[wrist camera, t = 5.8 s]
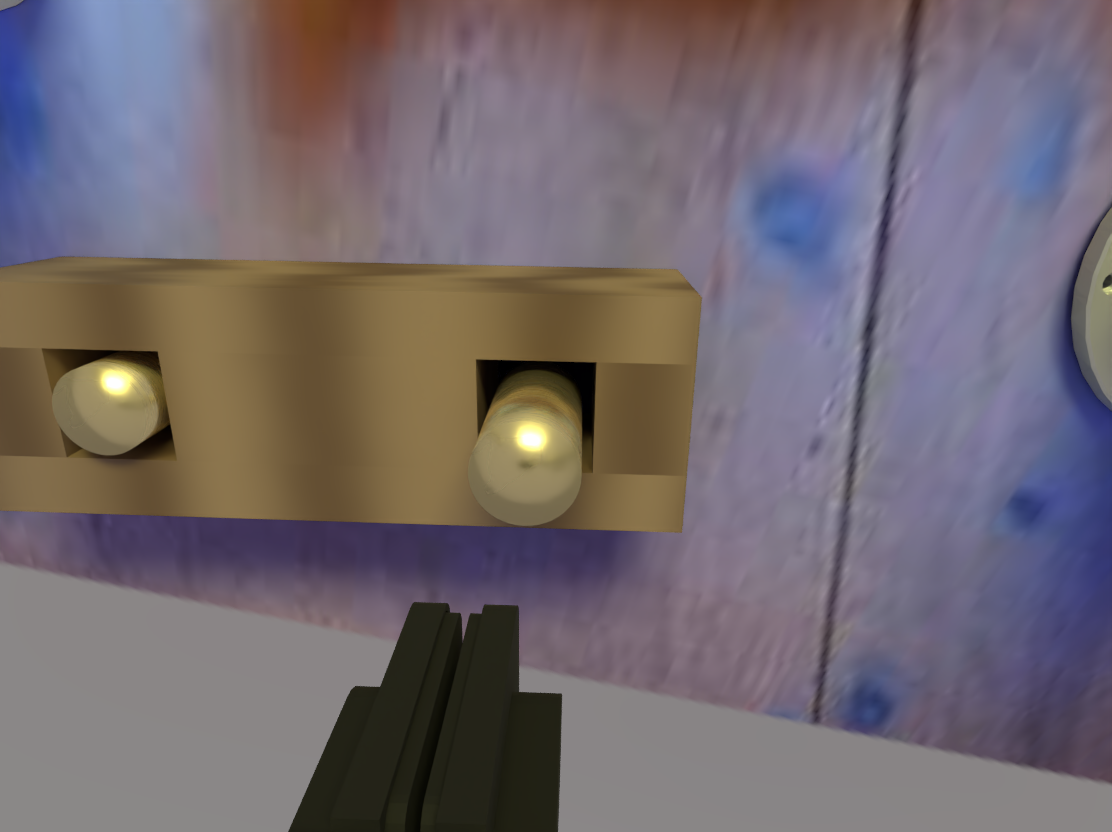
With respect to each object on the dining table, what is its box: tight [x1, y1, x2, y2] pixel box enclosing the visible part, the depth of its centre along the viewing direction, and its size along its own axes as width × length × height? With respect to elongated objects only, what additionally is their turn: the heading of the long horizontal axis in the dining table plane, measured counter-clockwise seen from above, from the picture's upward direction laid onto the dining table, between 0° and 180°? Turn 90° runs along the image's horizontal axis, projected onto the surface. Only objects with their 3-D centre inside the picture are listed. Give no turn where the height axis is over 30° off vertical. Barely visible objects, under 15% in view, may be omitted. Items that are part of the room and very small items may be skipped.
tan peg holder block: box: [0, 257, 702, 533], centre depth 26 cm, size 24×8×6 cm, turn 89°
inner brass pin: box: [468, 361, 582, 526], centre depth 22 cm, size 3×3×6 cm
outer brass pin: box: [52, 350, 170, 455], centre depth 26 cm, size 3×3×6 cm
